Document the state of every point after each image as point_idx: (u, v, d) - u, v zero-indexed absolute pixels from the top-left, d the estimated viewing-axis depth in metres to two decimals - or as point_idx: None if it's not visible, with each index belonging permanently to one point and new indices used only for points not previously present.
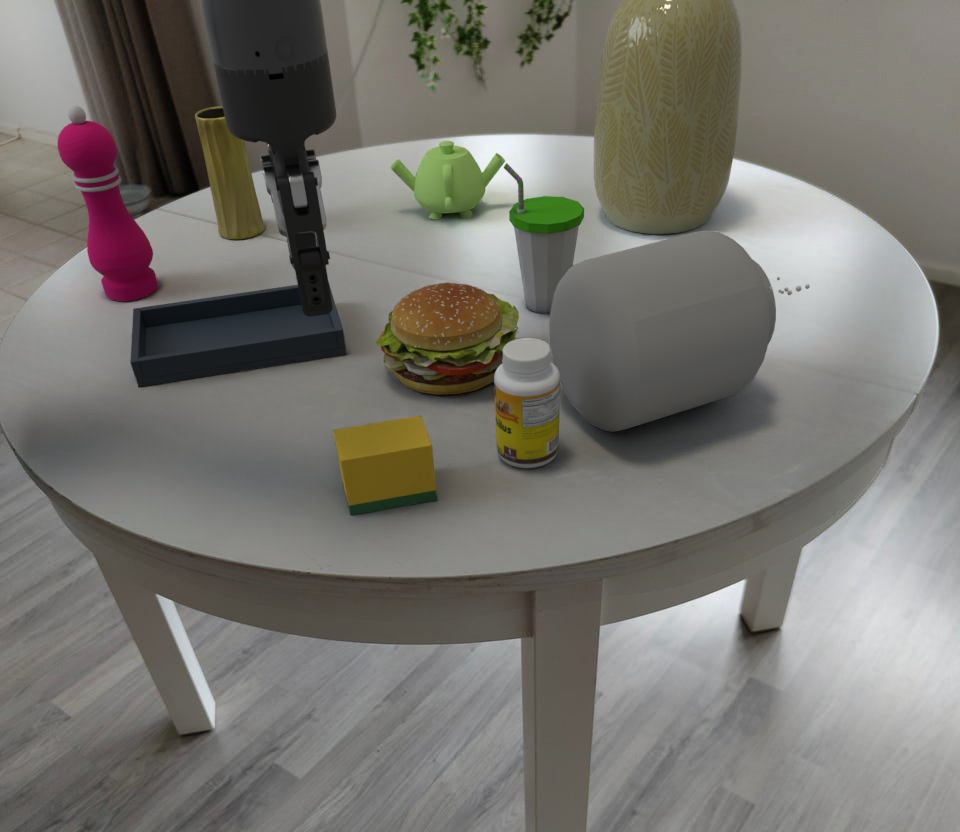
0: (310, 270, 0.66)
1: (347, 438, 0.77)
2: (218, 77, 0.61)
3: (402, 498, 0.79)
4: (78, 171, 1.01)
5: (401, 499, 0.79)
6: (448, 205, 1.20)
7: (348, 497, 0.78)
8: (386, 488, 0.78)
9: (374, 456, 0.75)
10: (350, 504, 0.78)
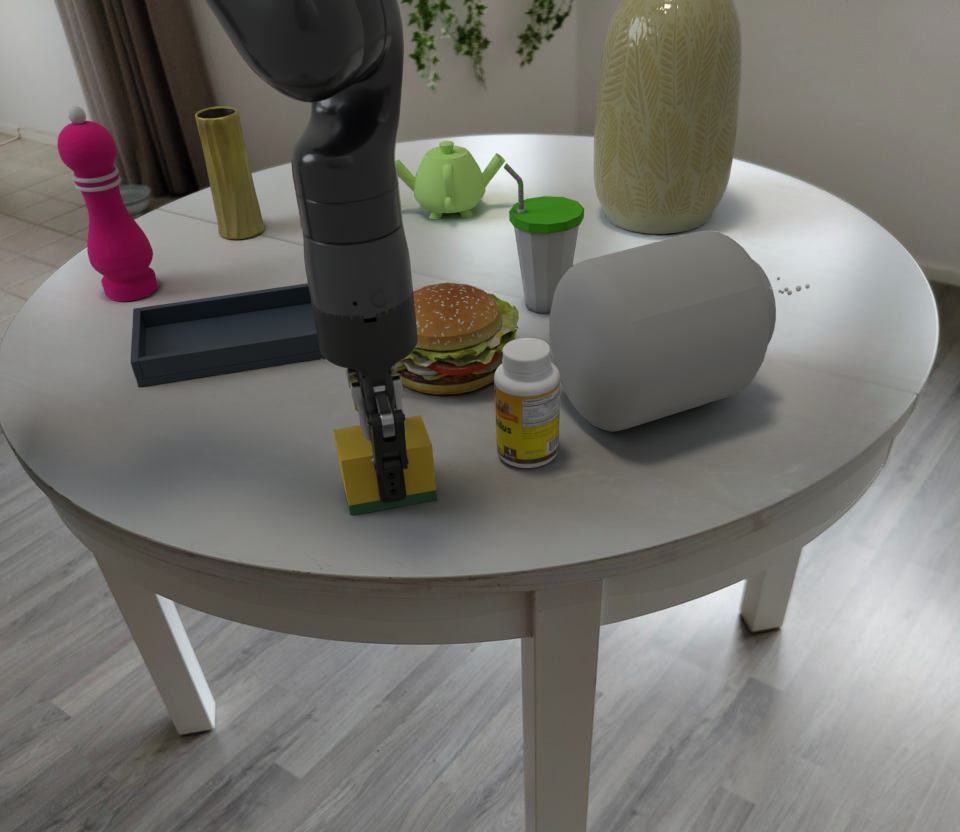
0: None
1: (347, 438, 0.77)
2: (316, 315, 0.68)
3: None
4: (78, 171, 1.01)
5: None
6: (448, 205, 1.20)
7: (348, 497, 0.78)
8: None
9: None
10: (350, 504, 0.78)
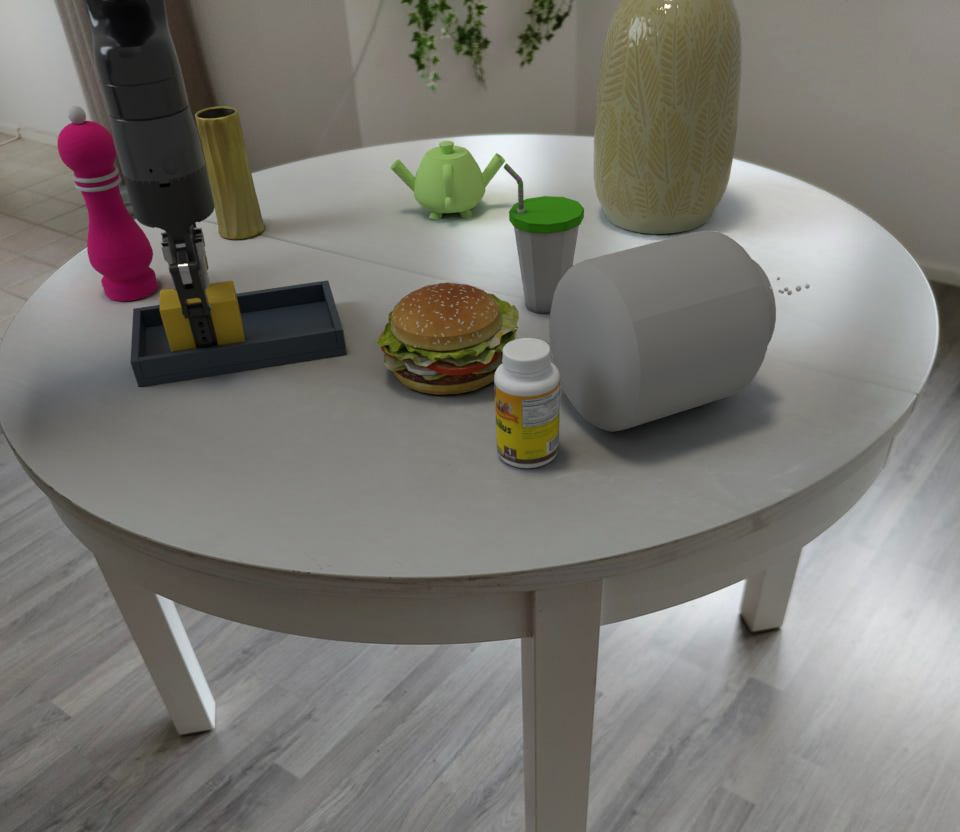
0: (198, 318, 0.93)
1: (169, 295, 0.95)
2: (125, 183, 0.86)
3: None
4: (78, 171, 1.01)
5: None
6: (448, 205, 1.20)
7: (170, 344, 0.96)
8: None
9: None
10: (173, 350, 0.96)
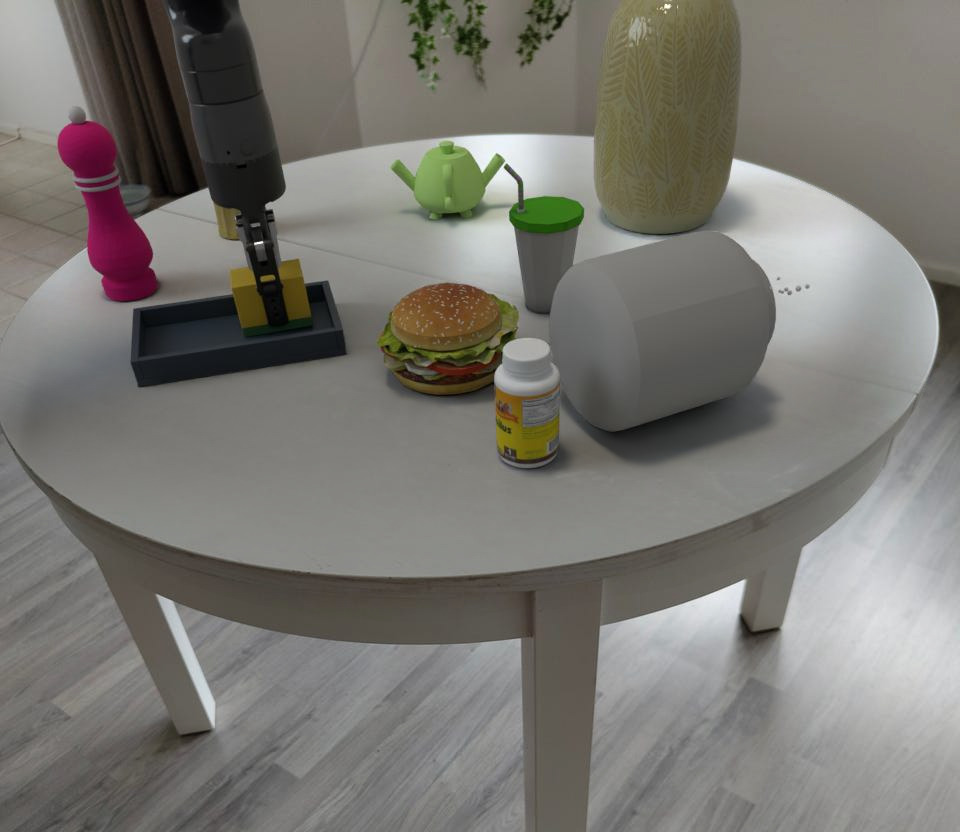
0: (271, 295, 0.97)
1: (239, 274, 0.99)
2: (203, 166, 0.90)
3: None
4: (78, 171, 1.01)
5: None
6: (448, 205, 1.20)
7: (241, 320, 1.00)
8: None
9: None
10: (243, 327, 1.00)
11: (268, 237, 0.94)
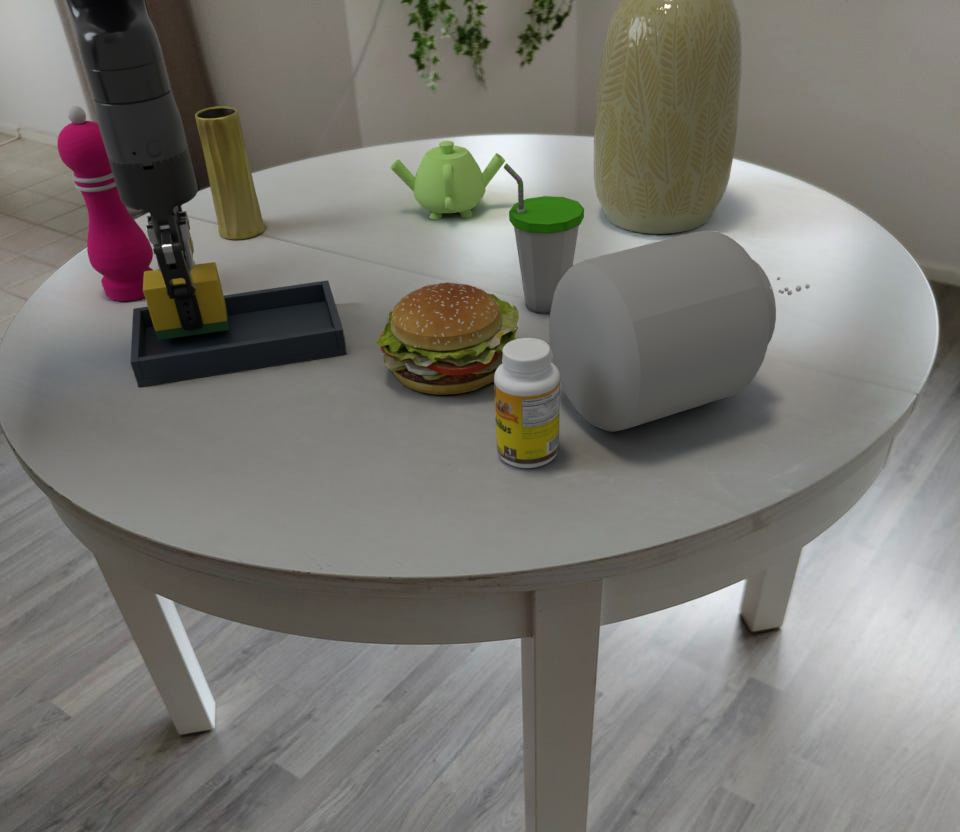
0: (183, 299, 0.96)
1: (152, 276, 0.98)
2: (111, 166, 0.89)
3: None
4: (78, 171, 1.01)
5: None
6: (448, 205, 1.20)
7: (154, 323, 0.98)
8: None
9: None
10: (156, 330, 0.99)
11: (179, 240, 0.92)
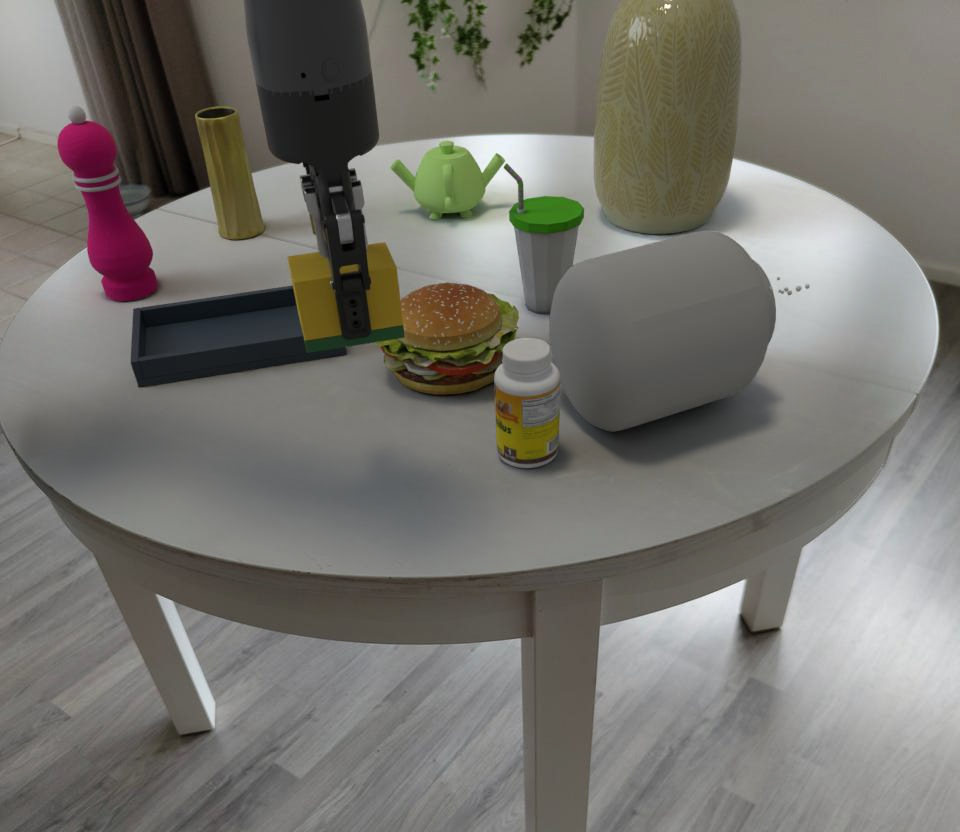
0: (351, 294, 0.67)
1: (301, 263, 0.69)
2: (261, 98, 0.60)
3: None
4: (78, 171, 1.01)
5: None
6: (448, 205, 1.20)
7: (304, 330, 0.69)
8: None
9: None
10: (307, 339, 0.70)
11: (352, 208, 0.63)
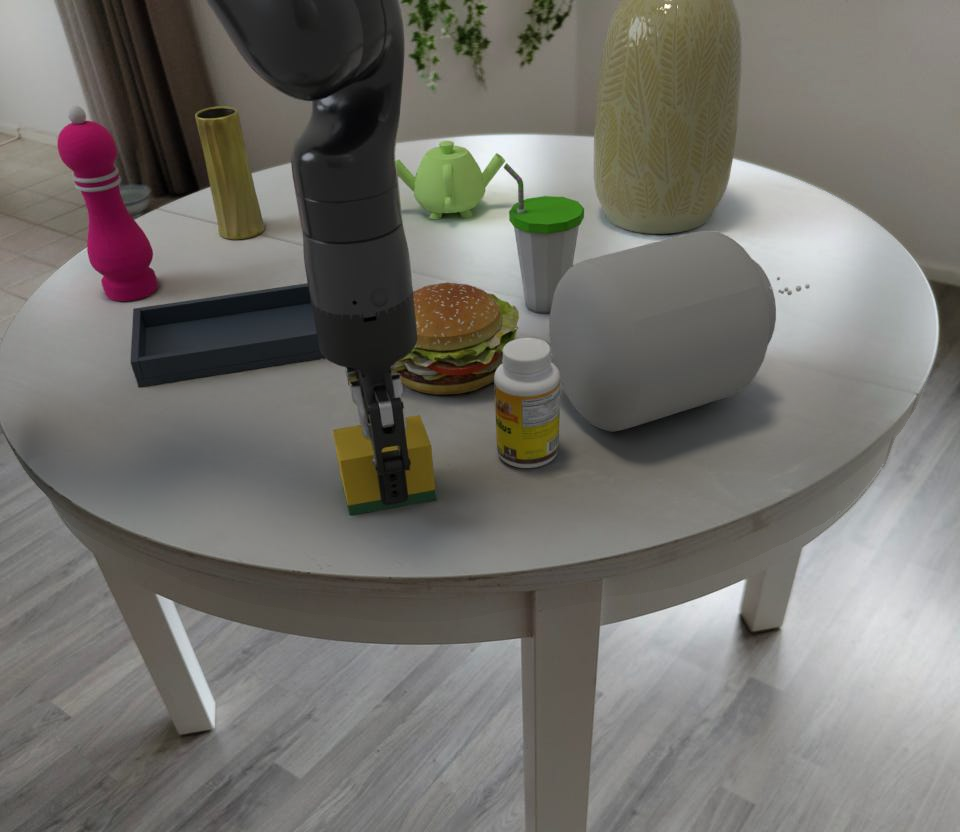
0: None
1: (346, 438, 0.77)
2: (315, 314, 0.68)
3: None
4: (78, 171, 1.01)
5: None
6: (448, 205, 1.20)
7: (347, 497, 0.78)
8: None
9: None
10: (349, 504, 0.78)
11: None
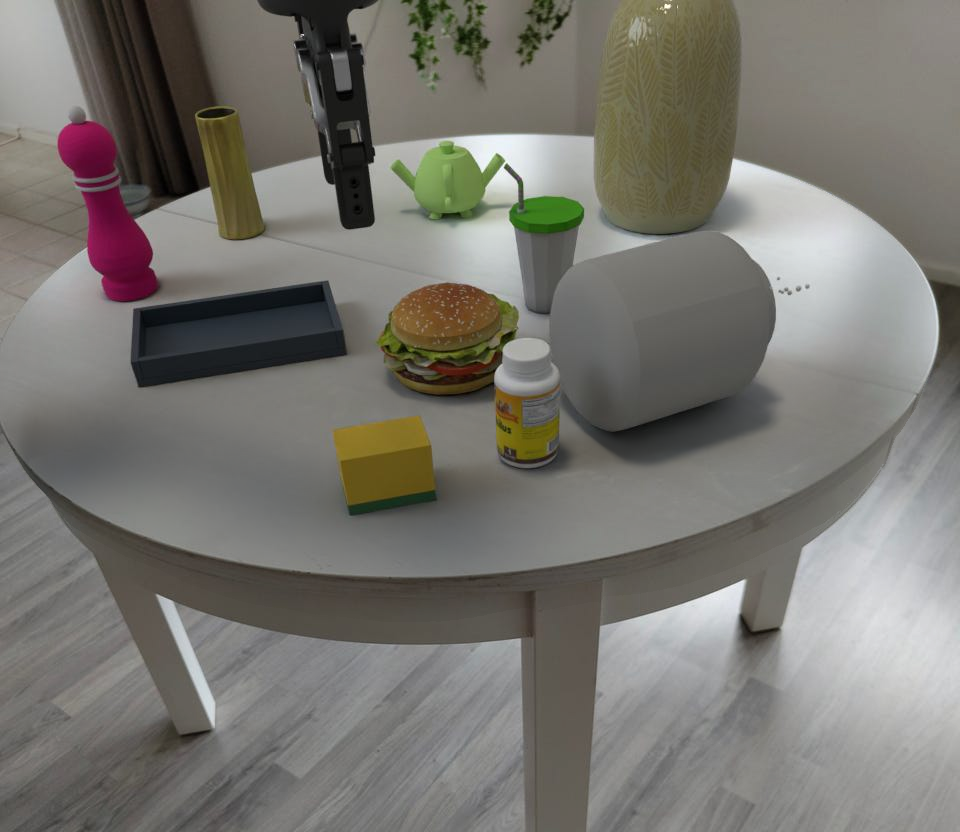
0: (351, 172, 0.58)
1: (346, 438, 0.77)
2: None
3: (401, 498, 0.79)
4: (78, 171, 1.01)
5: (400, 499, 0.79)
6: (448, 205, 1.20)
7: (347, 497, 0.78)
8: (385, 488, 0.78)
9: (373, 456, 0.76)
10: (349, 504, 0.78)
11: None
